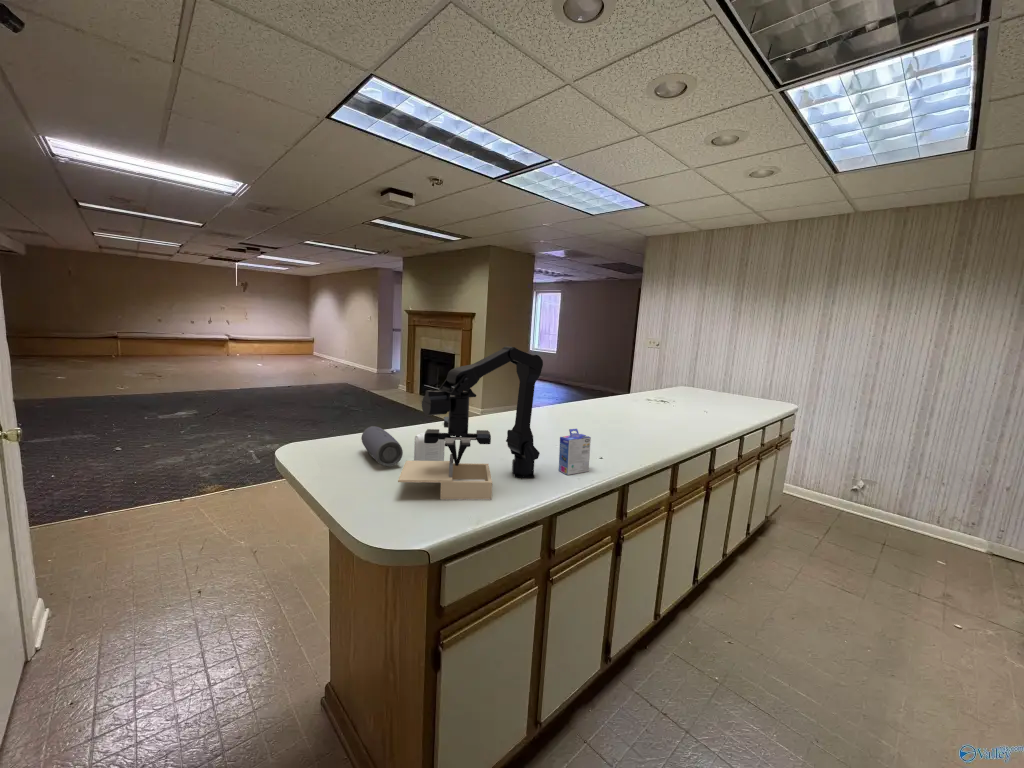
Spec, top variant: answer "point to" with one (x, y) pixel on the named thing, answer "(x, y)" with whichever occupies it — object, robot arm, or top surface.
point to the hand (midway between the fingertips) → (456, 465)
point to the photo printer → (428, 449)
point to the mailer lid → (427, 471)
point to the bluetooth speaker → (382, 446)
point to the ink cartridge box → (574, 453)
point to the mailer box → (468, 483)
